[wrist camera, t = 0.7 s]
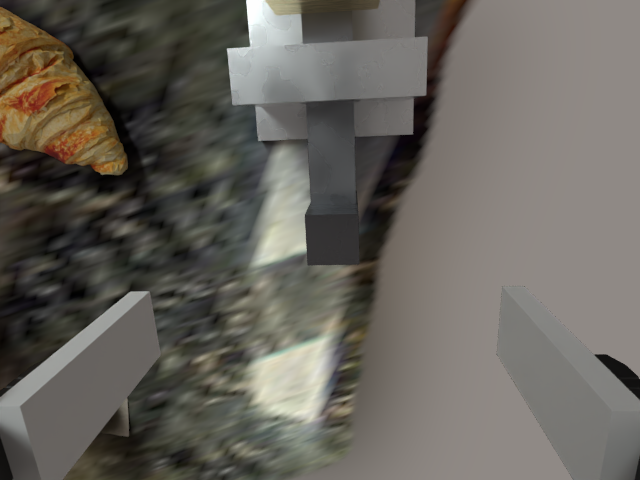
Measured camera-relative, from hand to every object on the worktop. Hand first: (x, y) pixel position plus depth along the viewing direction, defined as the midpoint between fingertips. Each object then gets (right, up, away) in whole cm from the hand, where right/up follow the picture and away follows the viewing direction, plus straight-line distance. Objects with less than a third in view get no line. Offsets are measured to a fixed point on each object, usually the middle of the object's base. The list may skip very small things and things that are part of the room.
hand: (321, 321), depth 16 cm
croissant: (-24, +16, +19) cm, 34 cm away
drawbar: (+1, +15, +15) cm, 21 cm away
